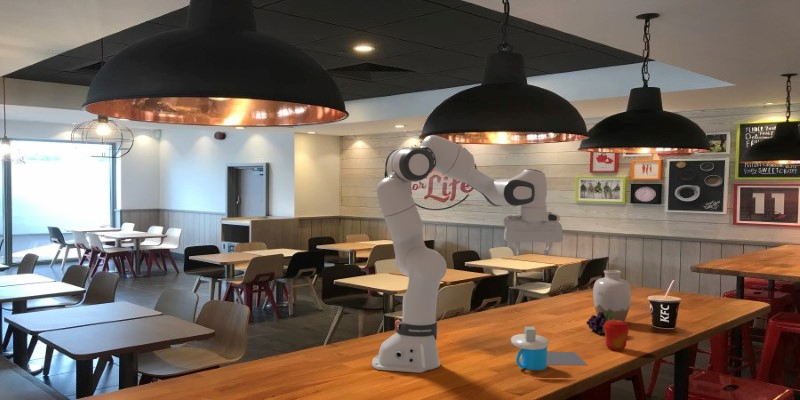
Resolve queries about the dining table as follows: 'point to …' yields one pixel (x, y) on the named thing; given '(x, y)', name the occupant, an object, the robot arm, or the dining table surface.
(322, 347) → the dining table surface
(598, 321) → the fruit
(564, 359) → the mat
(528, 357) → the mug
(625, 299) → the vase
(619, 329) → the apple
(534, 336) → the lid
